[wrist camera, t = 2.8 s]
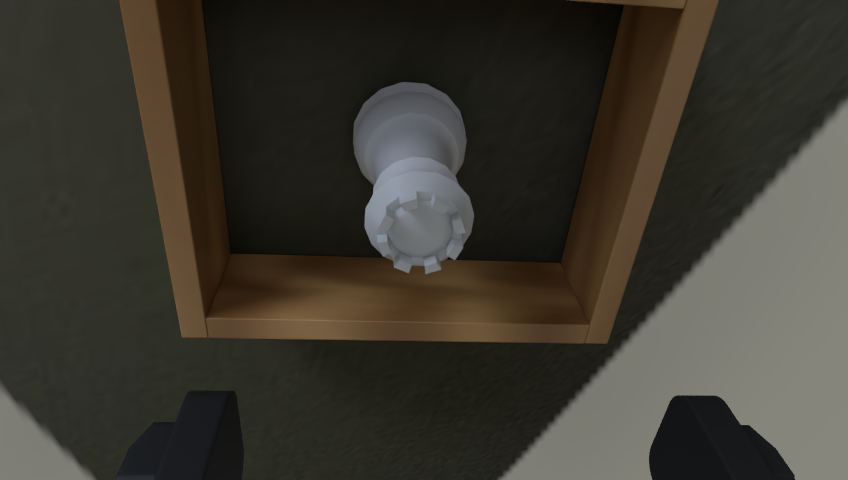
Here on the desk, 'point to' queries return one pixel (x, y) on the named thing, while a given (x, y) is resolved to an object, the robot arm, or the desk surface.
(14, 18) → the desk surface
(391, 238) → the rook chess piece
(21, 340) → the desk surface
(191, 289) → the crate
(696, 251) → the desk surface
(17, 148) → the desk surface
